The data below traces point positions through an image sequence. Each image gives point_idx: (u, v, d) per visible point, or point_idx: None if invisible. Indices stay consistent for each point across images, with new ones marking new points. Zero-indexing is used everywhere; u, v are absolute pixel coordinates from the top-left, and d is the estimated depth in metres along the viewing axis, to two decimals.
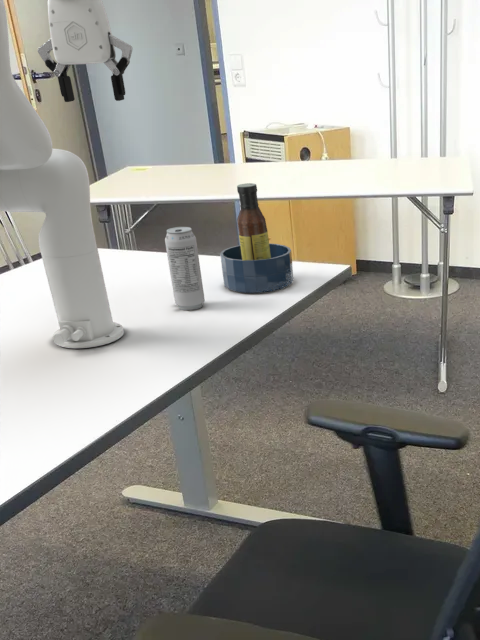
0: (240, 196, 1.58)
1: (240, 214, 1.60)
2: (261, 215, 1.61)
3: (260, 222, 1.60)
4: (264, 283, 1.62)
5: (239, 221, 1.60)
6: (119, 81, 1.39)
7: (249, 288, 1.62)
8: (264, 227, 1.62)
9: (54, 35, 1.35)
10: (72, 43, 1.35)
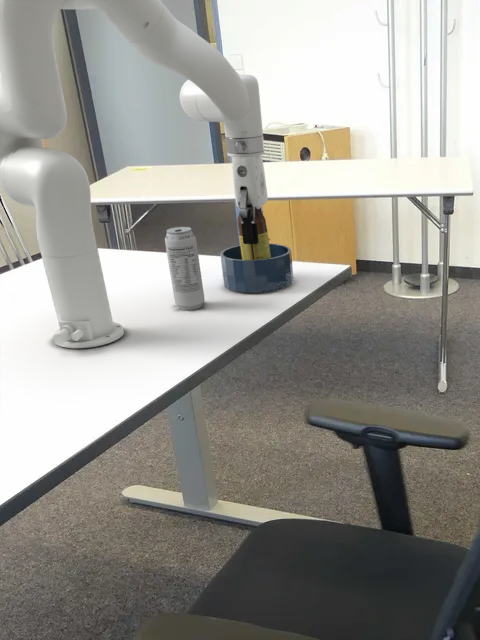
0: None
1: None
2: (261, 215, 1.61)
3: (260, 222, 1.60)
4: (264, 283, 1.62)
5: (239, 221, 1.60)
6: None
7: (249, 288, 1.62)
8: (264, 227, 1.62)
9: (257, 186, 1.54)
10: (261, 190, 1.58)
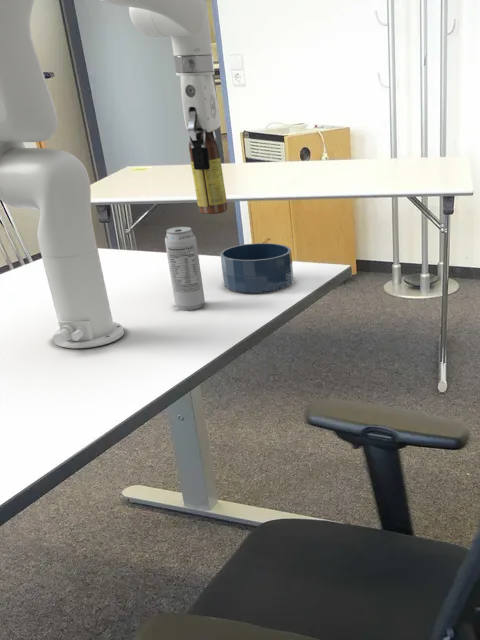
0: None
1: None
2: (213, 140, 1.57)
3: (211, 147, 1.57)
4: (264, 283, 1.62)
5: (190, 146, 1.57)
6: None
7: (249, 288, 1.62)
8: (216, 153, 1.58)
9: (206, 107, 1.51)
10: (212, 113, 1.54)
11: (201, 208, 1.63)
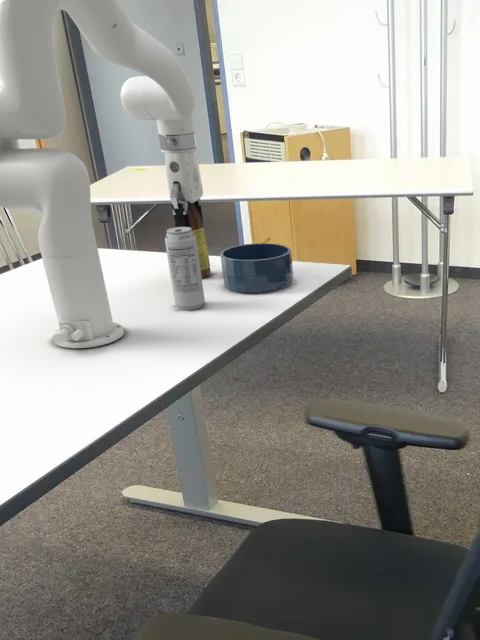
0: None
1: None
2: (196, 212, 1.68)
3: (195, 218, 1.68)
4: (264, 283, 1.62)
5: None
6: None
7: (249, 288, 1.62)
8: (199, 223, 1.69)
9: (189, 181, 1.62)
10: (195, 185, 1.65)
11: None
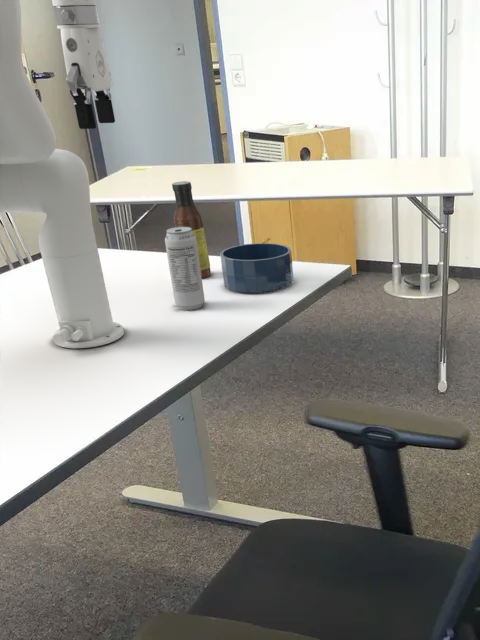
0: (175, 193, 1.66)
1: (176, 211, 1.68)
2: (196, 212, 1.68)
3: (195, 218, 1.68)
4: (264, 283, 1.62)
5: (175, 217, 1.68)
6: None
7: (249, 288, 1.62)
8: (199, 223, 1.69)
9: (91, 63, 1.39)
10: (99, 71, 1.42)
11: None
